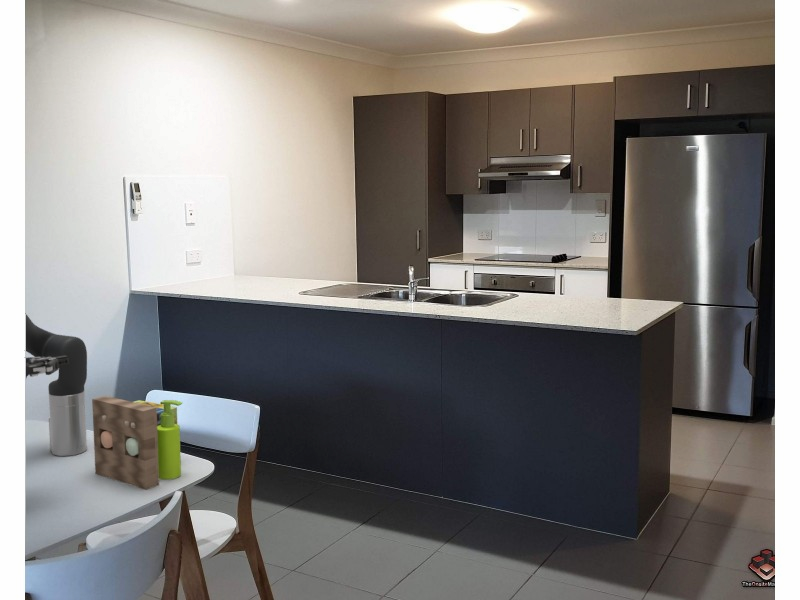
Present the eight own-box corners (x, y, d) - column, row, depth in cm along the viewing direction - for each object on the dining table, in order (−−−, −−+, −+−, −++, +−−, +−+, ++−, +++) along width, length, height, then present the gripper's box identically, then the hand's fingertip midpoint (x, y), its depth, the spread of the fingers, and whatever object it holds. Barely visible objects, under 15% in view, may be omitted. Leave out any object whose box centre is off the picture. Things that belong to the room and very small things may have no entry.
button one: (101, 446, 198) (100, 430, 197) (111, 443, 200) (110, 427, 200) (112, 449, 195) (111, 433, 195) (121, 446, 198) (121, 430, 197)
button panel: (94, 473, 200) (91, 399, 197) (108, 469, 203) (105, 395, 201) (145, 490, 189) (142, 411, 186) (159, 484, 193) (156, 407, 190)
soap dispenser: (177, 480, 195) (175, 404, 193) (153, 478, 197) (150, 403, 194) (188, 472, 201) (186, 398, 199) (164, 470, 203) (162, 397, 200)
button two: (126, 453, 192) (125, 436, 192) (136, 450, 195) (135, 433, 194) (137, 457, 190) (137, 439, 189) (147, 453, 192) (146, 436, 192)
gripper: (14, 360, 169) (83, 347, 184) (-18, 353, 177) (51, 341, 191) (16, 393, 170) (85, 378, 185) (-17, 384, 177) (52, 371, 192)
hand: (67, 359), depth 188 cm, fingers closed
